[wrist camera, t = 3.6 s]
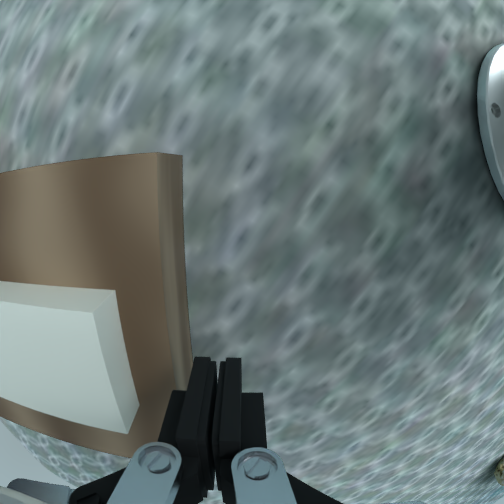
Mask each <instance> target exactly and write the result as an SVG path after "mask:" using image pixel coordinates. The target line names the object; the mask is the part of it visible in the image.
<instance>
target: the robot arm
mask: <svg viewBox="0 0 504 504" xmlns="http://www.w3.org/2000/svg"><path fill="white" fill-rule="evenodd" d="M477 103H478V118H479V126H480V134H481V138H482V143H483V147H484V152H485V156H486V159H487V162H488V165H489V169H490V172H491V175H492V177H493V180H494V182H495V184H496V187H497V189H498V191H499V193H500V195H501V196H502V198H503V200H504V43H502V44H499V45H497V46H495V47H493V48H492V49H491V50H490V51H489V52H488V53H487V55H486V57H485V59H484V61H483V62H482V65H481V69H480V73H479V77H478V90H477ZM215 472H216V479H217V486H218V490H219V491H222V497H223V502H224V503H226V504H343V503H341V502H339V501H337V500H335V499H333V498H331V497H329V496H327V495H325V494H323V493H322V492H320V491H318V490H316V489H314V488H312V487H311V486H309V485H307V484H305V483H304V482H302V481H300V480H299V479H297V478H295V477H294V476H292V475H290V474H289V473H287V472H286V470H285V467H284V464H283V461H282V460H281V458H280V456H279V455H277V454H276V453H275V452H273V451H271V450H269V449H267V441H266V428H265V414H264V401H263V393H242V370H241V358H226V361H221V362H220V369H219V377H218V383H217V367H216V361H211V359H210V357H195V358H194V362H193V366H192V370H191V374H190V378H189V382H188V386H187V391H185V390H173V391H172V393H171V396H170V399H169V403H168V406H167V410H166V413H165V416H164V420H163V423H162V427H161V430H160V434H159V437H158V441H157V442H151V443H148V444H145V445H143V446H141V447H140V448H138V449H137V451H136V452H135V453H134V455H133V457H132V459H131V460H130V462H129V464H128V466H127V467H126V468H124V469H121V470H119V471H117V472H115V473H112V474H110V475H108V476H105V477H103V478H101V479H98V480H96V481H93V482H91V483H88V484H86V485H83V486H80V487H79V488H77V489H70V488H69V486H63V485H56V484H49V483H43V482H38V481H32V480H27V479H15V480H13V481H12V482H10V483H9V485H8V486H7V488H5V487H2V486H0V504H198V503H200V502H201V501H203V497H206V498H207V492H208V490H213V489H214V478H215ZM384 504H426V503H424V502H421V501H409V502H398V503H384Z"/></svg>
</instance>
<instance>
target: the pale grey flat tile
mask: <svg viewBox="0 0 504 504" xmlns="http://www.w3.org/2000/svg"><path fill="white" fill-rule="evenodd" d="M0 397H2V398H4V399H7V400H9V401H12V402H14V403H17V404H20V405H22V406H25V407H28V408H31V409H34V410H36V411H39V412H42V413H45V414H49V415H52V416H55V417H58V418H62V419H65V420H69V421H72V422H76V423H80V424H84V425H88V426H92V427H96V428H100V429H105V430H109V431H114V432H119V433H124V434H128V432H129V430H130V427H131V425H132V422H133V420H134V417H135V415H136V413H137V410H138V408H139V401H138V398H137V394H136V390H135V386H134V382H133V378H132V374H131V370H130V366H129V361H128V357H127V352H126V348H125V343H124V338H123V333H122V328H121V322H120V317H119V311H118V305H117V299H116V292H115V290H105V289H89V288H75V287H61V286H49V285H37V284H26V283H16V282H6V281H0Z"/></svg>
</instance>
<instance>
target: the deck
mask: <svg viewBox="0 0 504 504" xmlns="http://www.w3.org/2000/svg"><path fill="white" fill-rule="evenodd" d="M0 281H6V282H16V283H26V284H37V285H49V286H61V287H75V288H89V289H105V290H115V292H116V299H117V305H118V311H119V317H120V322H121V328H122V333H123V338H124V343H125V348H126V352H127V357H128V361H129V366H130V370H131V374H132V378H133V382H134V386H135V390H136V394H137V398H138V401H139V408H138V410H137V413H136V415H135V417H134V420H133V422H132V425H131V427H130V430H129V432H128V434H124V433H119V432H114V431H109V430H105V429H100V428H96V427H92V426H88V425H84V424H80V423H76V422H72V421H69V420H65V419H62V418H58V417H55V416H52V415H49V414H45V413H42V412H39V411H36V410H34V409H31V408H28V407H25V406H22V405H20V404H17V403H14V402H12V401H9V400H7V399H4V398H2V397H0V416H1V417H3V418H5V419H7V420H10V421H12V422H14V423H17V424H19V425H21V426H24V427H26V428H29V429H31V430H34V431H37V432H39V433H42V434H45V435H48V436H50V437H53V438H56V439H59V440H62V441H66V442H69V443H72V444H75V445H79V446H82V447H86V448H90V449H93V450H97V451H101V452H105V453H109V454H114V455H118V456H123V457H128V458H132V457H133V455H134V453H135V452H136V451H137V449H138V448H140V447H141V446H143V445H145V444H148V443H151V442H157V441H158V437H159V434H160V430H161V427H162V423H163V420H164V416H165V413H166V410H167V406H168V403H169V399H170V396H171V393H172V391H173V390H185V391H187V386H188V382H189V378H190V374H191V370H192V366H193V358H192V348H191V338H190V326H189V314H188V301H187V286H186V270H185V250H184V225H183V176H182V155H174V154H167V153H158V152H155V153H140V154H128V155H117V156H107V157H98V158H89V159H81V160H73V161H66V162H59V163H53V164H46V165H40V166H34V167H29V168H23V169H18V170H13V171H8V172H3V173H0Z"/></svg>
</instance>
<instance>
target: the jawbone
mask: <svg viewBox="0 0 504 504" xmlns="http://www.w3.org/2000/svg"><path fill="white" fill-rule="evenodd" d="M494 475H495V477H496V479H497V481H498V483H499V484H500V485H502V486H504V457H503V458H502V459H501V460H500V461H499V463H498V465H497V467H496V470H495V472H494Z"/></svg>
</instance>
